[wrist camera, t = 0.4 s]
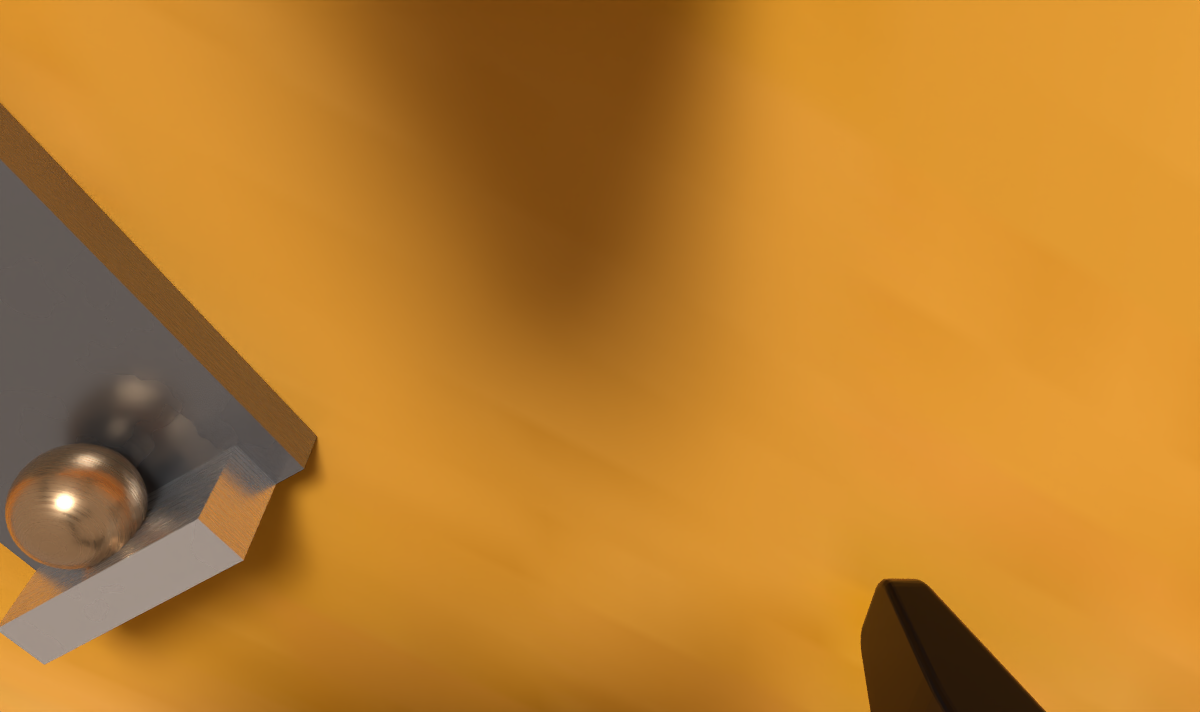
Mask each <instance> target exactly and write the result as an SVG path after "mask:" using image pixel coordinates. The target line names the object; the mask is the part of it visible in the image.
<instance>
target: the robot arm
mask: <svg viewBox="0 0 1200 712" xmlns="http://www.w3.org/2000/svg"><path fill="white" fill-rule="evenodd" d="M861 652H862V659H863V665H864V672H865V678H866V685H867V691H868V698H869V704H870V710H871V712H1046V711H1045V710H1044V709H1043V708H1042V707H1041V706H1040V705H1039V704H1038V703H1037V702H1036V700H1035V699H1034V698H1033V697H1032V696H1031V695H1030V694H1029V693H1028V692H1027V691H1026V690H1025V689H1024V688H1023V687H1022V685H1021V684H1020V683H1019V682H1018V681H1017V680H1016V679H1015V678H1014V677H1013V676H1012V675H1011V674H1010V673H1009V672H1008V670H1007V669H1006V668H1005V667H1004V666H1003V665H1002V664H1001V663H1000V662H999V661H998V660H997V659H996V658H995V657H994V655H993V654H992V653H991V652H990V651H989V650H988V649H987V648H986V647H985V646H984V645H983V644H982V643H981V642H980V640H979V639H978V638H977V637H976V636H975V635H974V634H973V633H972V632H971V631H970V630H969V629H968V628H967V627H966V625H965V624H964V623H963V622H962V621H961V620H960V619H959V618H958V617H957V616H956V615H955V614H954V613H953V612H952V610H951V609H950V608H949V607H948V606H947V605H946V604H945V603H944V602H943V601H942V600H941V599H940V598H939V597H938V595H937V594H936V593H935V592H934V591H933V590H932V589H931V588H930V587H929V586H928V585H927V584H925V583H924V582H922V581H920V580H917V579H884V580H882V581H881V582H880V583H879V584H878V586H877V587H876V590H875V593H874V595H873V598H872V601H871V604H870V607H869V609H868V612H867V615H866V618H865V621H864V624H863V627H862V631H861Z"/></svg>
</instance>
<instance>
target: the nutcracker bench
mask: <svg viewBox="0 0 1200 712" xmlns="http://www.w3.org/2000/svg"><path fill="white" fill-rule="evenodd" d="M316 438H317V436H316V435H315V434H314V433H313V432H312V431H311V430H310V429H309V428H308V427H307V426H306V425H305V424H304V422H303V421H302V420H301V419H300V418H299V417H298V416H297V415H296V414H295V413H294V412H293V411H292V410H291V409H290V408H289V407H288V406H287V405H286V404H285V402H284V401H283V400H282V399H281V398H280V397H279V396H278V395H277V394H276V393H275V392H274V391H273V390H272V389H271V388H270V387H269V386H268V385H267V384H266V382H265V381H264V380H263V379H262V378H261V377H260V376H259V375H258V374H257V373H256V372H255V371H254V370H253V369H252V368H251V367H250V366H249V365H248V364H247V362H246V361H245V360H244V359H243V358H242V357H241V356H240V355H239V354H238V353H237V352H236V351H235V350H234V349H233V348H232V347H231V346H230V345H229V344H228V343H227V341H226V340H225V339H224V338H223V337H222V336H221V335H220V334H219V333H218V332H217V331H216V330H215V329H214V328H213V327H212V326H211V325H210V324H209V323H208V321H207V320H206V319H205V318H204V317H203V316H202V315H201V314H200V313H199V312H198V311H197V310H196V309H195V308H194V307H193V306H192V305H191V304H190V303H189V301H188V300H187V299H186V298H185V297H184V296H183V295H182V294H181V293H180V292H179V291H178V290H177V289H176V288H175V287H174V286H173V285H172V284H171V283H170V281H169V280H168V279H167V278H166V277H165V276H164V275H163V274H162V273H161V272H160V271H159V270H158V269H157V268H156V267H155V266H154V265H153V264H152V263H151V261H150V260H149V259H148V258H147V257H146V256H145V255H144V254H143V253H142V252H141V251H140V250H139V249H138V248H137V247H136V246H135V245H134V244H133V243H132V241H131V240H130V239H129V238H128V237H127V236H126V235H125V234H124V233H123V232H122V231H121V230H120V229H119V228H118V227H117V226H116V225H115V224H114V223H113V221H112V220H111V219H110V218H109V217H108V216H107V215H106V214H105V213H104V212H103V211H102V210H101V209H100V208H99V207H98V206H97V205H96V204H95V203H94V201H93V200H92V199H91V198H90V197H89V196H88V195H87V194H86V193H85V192H84V191H83V190H82V189H81V188H80V187H79V186H78V185H77V184H76V183H75V181H74V180H73V179H72V178H71V177H70V176H69V175H68V174H67V173H66V172H65V171H64V170H63V169H62V168H61V167H60V166H59V165H58V164H57V163H56V161H55V160H54V159H53V158H52V157H51V156H50V155H49V154H48V153H47V152H46V151H45V150H44V149H43V148H42V147H41V146H40V145H39V144H38V143H37V141H36V140H35V139H34V138H33V137H32V136H31V135H30V134H29V133H28V132H27V131H26V130H25V129H24V128H23V127H22V126H21V125H20V124H19V123H18V121H17V120H16V119H15V118H14V117H13V116H12V115H11V114H10V113H9V112H8V111H7V110H6V109H5V108H4V107H3V106H2V105H1V104H0V542H1V543H2V544H3V545H4V546H6V547H7V548H8V549H9V550H11V551H12V552H13V553H14V554H16V555H17V556H18V557H20V558H21V559H22V560H23V561H25V562H26V563H27V564H28V565H30V566H31V567H32V568H34V569H35V570H36V572H35V573H34V575H33V576H32V578H31V579H30V581H29V582H28V584H27V585H26V586H25V588H24V589H23V591H22V592H21V594H20V595H19V597H18V598H17V599H16V601H15V602H14V604H13V605H12V607H11V608H10V610H9V611H8V613H7V614H6V615H5V617H4V618H3V620H2V621H1V623H0V632H1V633H2V634H3V635H5V636H6V637H7V638H9V639H10V640H11V641H13V642H14V643H16V644H17V645H18V646H20V647H21V648H22V649H24V650H25V651H27V652H28V653H29V654H31V655H32V656H33V657H35V658H36V659H37V660H39V661H40V662H42V663H43V664H44V665H45V664H46V663H48V662H50V661H52V660H54V659H56V658H58V657H60V656H62V655H64V654H66V653H67V652H69V651H71V650H73V649H75V648H77V647H79V646H81V645H83V644H85V643H87V642H88V641H90V640H92V639H94V638H96V637H98V636H100V635H102V634H104V633H106V632H107V631H109V630H111V629H113V628H115V627H117V626H119V625H121V624H123V623H125V622H127V621H128V620H130V619H132V618H134V617H136V616H138V615H140V614H142V613H144V612H146V611H148V610H149V609H151V608H153V607H155V606H157V605H159V604H161V603H163V602H165V601H167V600H169V599H170V598H172V597H174V596H176V595H178V594H180V593H182V592H184V591H186V590H188V589H190V588H191V587H193V586H195V585H197V584H199V583H201V582H203V581H205V580H207V579H209V578H211V577H212V576H214V575H216V574H218V573H220V572H222V571H224V570H226V569H228V568H230V567H232V566H233V565H235V564H237V563H239V562H241V561H243V560H244V558H245V556H246V553H247V551H248V549H249V546H250V544H251V542H252V539H253V537H254V535H255V532H256V530H257V528H258V525H259V523H260V521H261V518H262V516H263V514H264V511H265V509H266V507H267V504H268V502H269V500H270V497H271V495H272V493H273V490H274V488H275V485H276V484H277V483H279V482H281V481H283V480H285V479H286V478H288V477H290V476H292V475H294V474H296V473H297V472H299V471H301V470H303V469H304V468H305V465H306V463H307V460H308V458H309V455H310V453H311V450H312V448H313V445H314V443H315V440H316Z"/></svg>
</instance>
